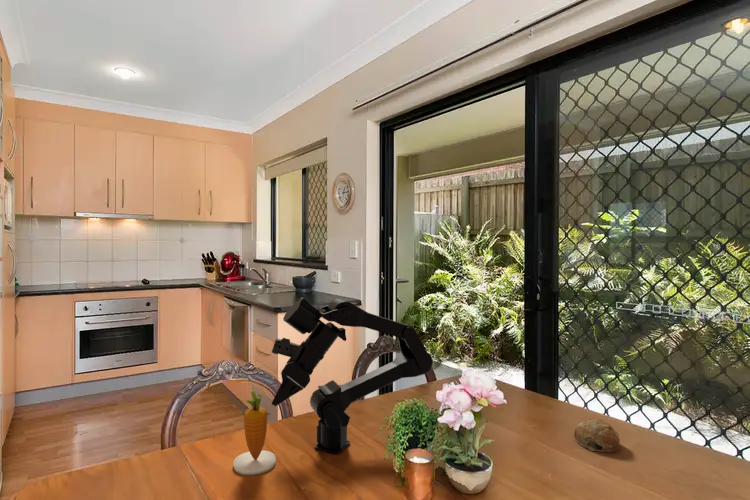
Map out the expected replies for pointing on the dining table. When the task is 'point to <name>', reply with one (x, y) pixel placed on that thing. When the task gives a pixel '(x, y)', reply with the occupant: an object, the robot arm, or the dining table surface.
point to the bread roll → (597, 436)
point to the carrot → (255, 426)
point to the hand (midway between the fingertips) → (275, 400)
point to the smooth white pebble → (254, 463)
